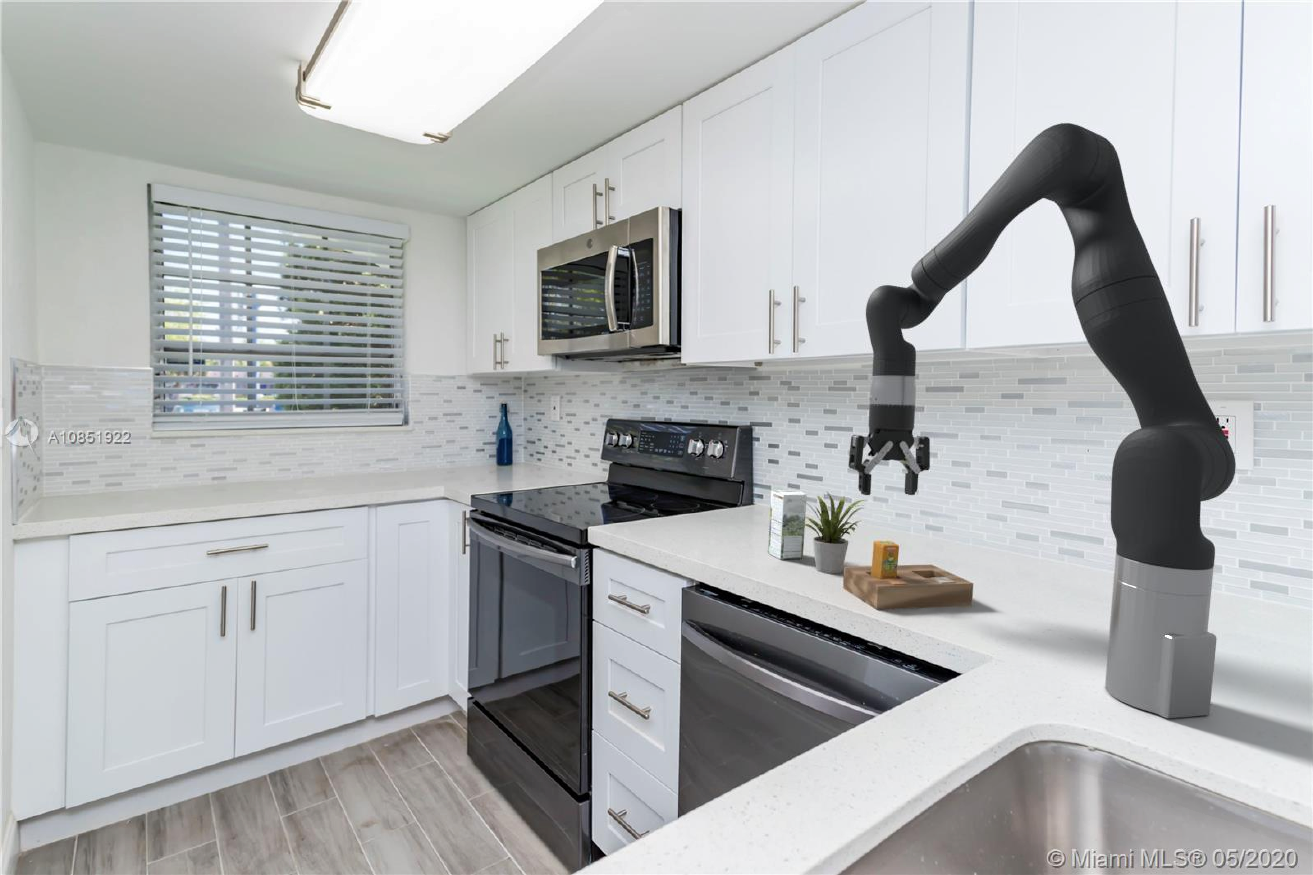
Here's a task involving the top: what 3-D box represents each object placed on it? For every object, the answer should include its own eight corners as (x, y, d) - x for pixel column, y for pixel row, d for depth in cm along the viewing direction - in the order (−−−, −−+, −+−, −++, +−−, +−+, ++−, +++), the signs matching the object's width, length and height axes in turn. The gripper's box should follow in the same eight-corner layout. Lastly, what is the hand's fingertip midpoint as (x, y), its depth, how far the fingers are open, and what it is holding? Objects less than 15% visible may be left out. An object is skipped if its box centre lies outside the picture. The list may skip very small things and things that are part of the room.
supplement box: (879, 601, 113) (882, 544, 112) (869, 594, 117) (872, 540, 116) (896, 600, 114) (899, 544, 113) (885, 594, 117) (888, 539, 117)
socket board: (971, 605, 112) (973, 582, 112) (876, 609, 109) (878, 585, 108) (930, 585, 124) (931, 563, 123) (843, 587, 120) (844, 565, 120)
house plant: (886, 573, 131) (890, 493, 129) (845, 585, 122) (849, 499, 121) (827, 558, 142) (831, 484, 141) (786, 567, 133) (789, 489, 132)
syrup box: (790, 552, 146) (793, 488, 145) (804, 559, 141) (807, 493, 139) (767, 553, 144) (770, 489, 143) (780, 560, 139) (783, 493, 138)
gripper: (865, 402, 108) (861, 498, 109) (942, 403, 111) (937, 497, 112) (844, 401, 115) (840, 491, 116) (916, 403, 118) (912, 491, 119)
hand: (887, 494), depth 114 cm, fingers open, 8 cm apart
